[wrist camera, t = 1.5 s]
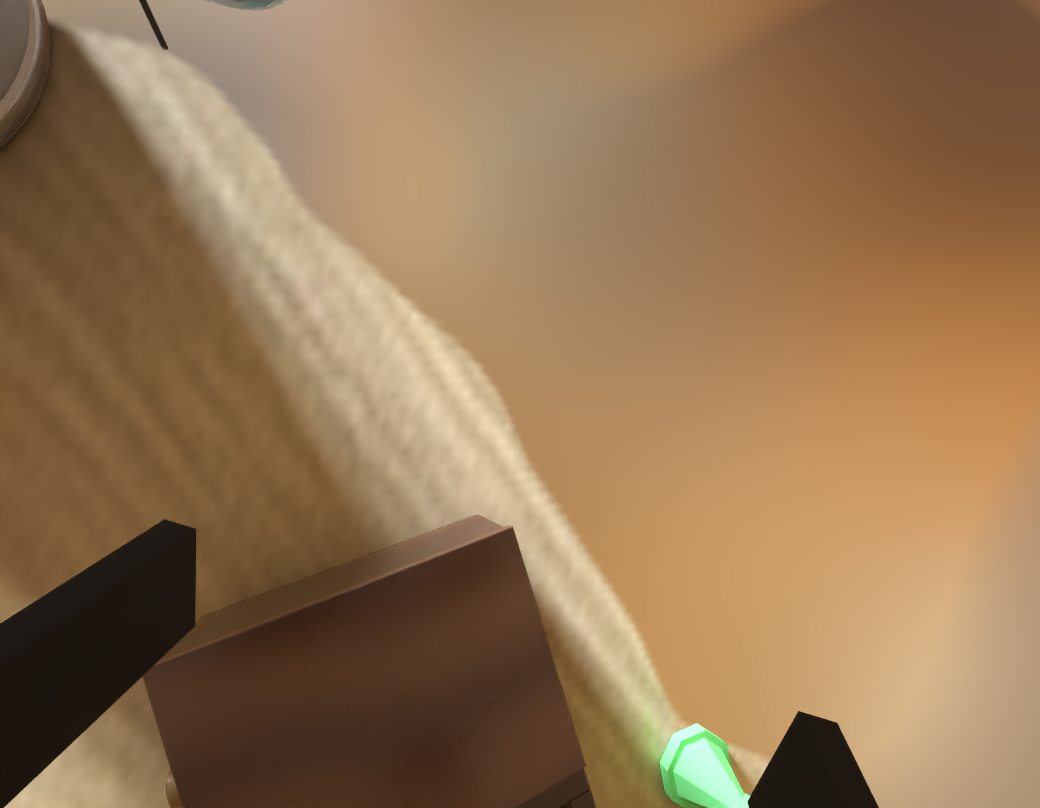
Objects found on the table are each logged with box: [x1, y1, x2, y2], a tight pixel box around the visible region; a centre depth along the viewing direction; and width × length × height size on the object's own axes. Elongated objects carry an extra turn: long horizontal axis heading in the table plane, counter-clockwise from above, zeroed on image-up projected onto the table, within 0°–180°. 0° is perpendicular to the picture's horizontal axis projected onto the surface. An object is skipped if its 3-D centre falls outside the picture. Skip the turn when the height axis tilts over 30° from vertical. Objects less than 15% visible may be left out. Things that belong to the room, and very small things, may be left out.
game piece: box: [659, 724, 750, 808], centre depth 26 cm, size 4×4×6 cm
